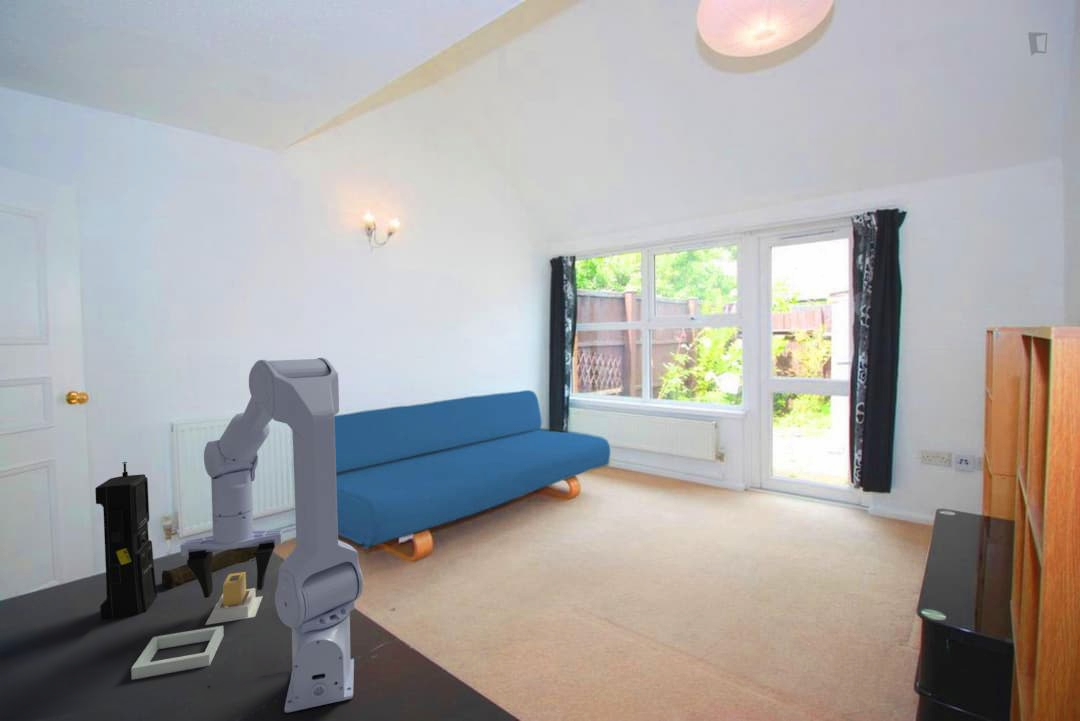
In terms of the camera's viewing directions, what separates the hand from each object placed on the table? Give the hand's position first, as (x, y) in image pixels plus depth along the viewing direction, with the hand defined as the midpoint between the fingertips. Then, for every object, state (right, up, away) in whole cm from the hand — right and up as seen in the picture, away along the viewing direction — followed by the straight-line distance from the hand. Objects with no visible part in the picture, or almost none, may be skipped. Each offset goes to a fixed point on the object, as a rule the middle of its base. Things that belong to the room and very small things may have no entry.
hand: (234, 591), depth 85 cm
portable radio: (-18, -4, +1) cm, 19 cm away
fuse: (0, -3, 0) cm, 3 cm away
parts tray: (0, -5, -12) cm, 13 cm away
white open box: (0, -4, 0) cm, 4 cm away
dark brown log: (-13, -4, +16) cm, 21 cm away
